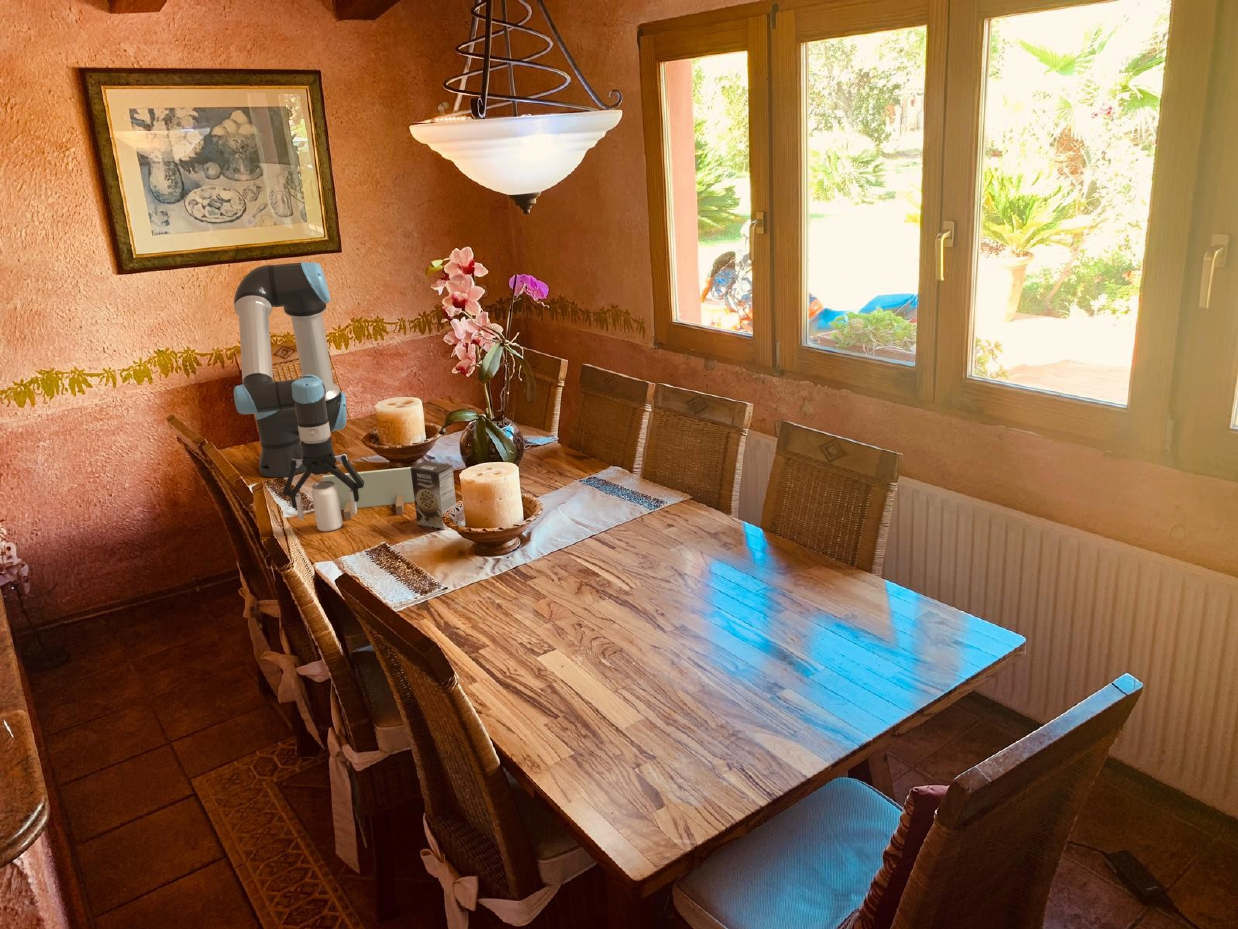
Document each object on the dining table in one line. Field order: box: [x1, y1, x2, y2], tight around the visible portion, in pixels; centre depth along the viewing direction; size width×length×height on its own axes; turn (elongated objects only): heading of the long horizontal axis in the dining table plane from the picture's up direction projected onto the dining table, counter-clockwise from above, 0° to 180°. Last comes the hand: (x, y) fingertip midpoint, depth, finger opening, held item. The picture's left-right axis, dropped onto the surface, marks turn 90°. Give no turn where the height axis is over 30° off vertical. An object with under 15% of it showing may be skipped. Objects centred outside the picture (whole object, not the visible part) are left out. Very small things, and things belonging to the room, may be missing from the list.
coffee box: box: [410, 460, 457, 530], centre depth 239 cm, size 9×6×16 cm
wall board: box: [321, 466, 415, 521], centre depth 250 cm, size 9×26×10 cm, turn 100°
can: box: [311, 480, 344, 533], centre depth 241 cm, size 6×6×12 cm
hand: (328, 515), depth 242 cm, fingers open, 13 cm apart
